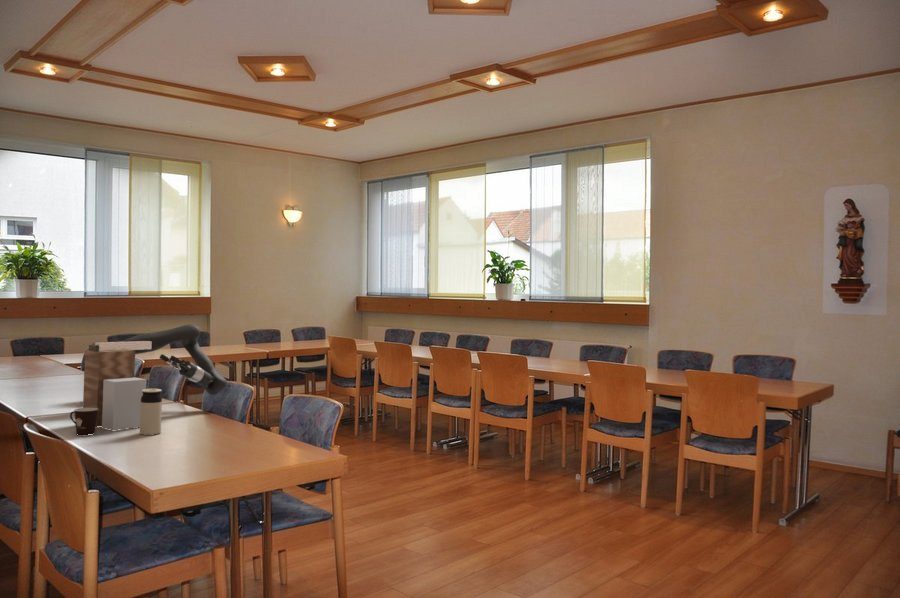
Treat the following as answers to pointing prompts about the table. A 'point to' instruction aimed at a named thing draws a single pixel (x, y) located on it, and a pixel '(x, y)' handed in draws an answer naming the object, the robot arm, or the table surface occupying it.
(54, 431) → the table surface
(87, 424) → the coffee mug
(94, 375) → the walnut stand
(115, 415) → the grey block
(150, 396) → the travel mug
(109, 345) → the light wooden bar
